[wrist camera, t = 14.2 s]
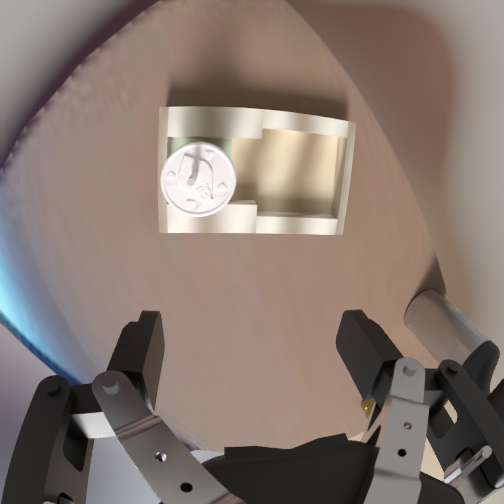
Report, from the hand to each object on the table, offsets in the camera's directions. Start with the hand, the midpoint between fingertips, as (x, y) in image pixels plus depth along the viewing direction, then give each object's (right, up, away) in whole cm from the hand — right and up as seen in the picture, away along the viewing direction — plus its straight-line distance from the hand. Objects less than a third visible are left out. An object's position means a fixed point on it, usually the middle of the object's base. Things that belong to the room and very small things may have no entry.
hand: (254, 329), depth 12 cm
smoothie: (-6, +13, +19) cm, 24 cm away
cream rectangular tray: (0, +13, +21) cm, 25 cm away
